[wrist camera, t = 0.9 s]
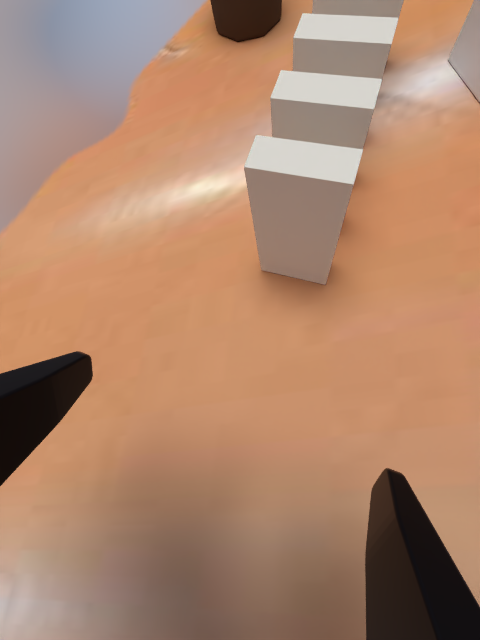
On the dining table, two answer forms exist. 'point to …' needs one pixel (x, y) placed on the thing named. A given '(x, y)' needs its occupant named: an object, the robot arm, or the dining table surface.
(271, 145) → the domino
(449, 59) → the milk
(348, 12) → the domino
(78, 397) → the robot arm
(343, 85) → the domino
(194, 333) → the dining table surface
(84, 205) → the dining table surface
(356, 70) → the domino
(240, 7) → the beer bottle
